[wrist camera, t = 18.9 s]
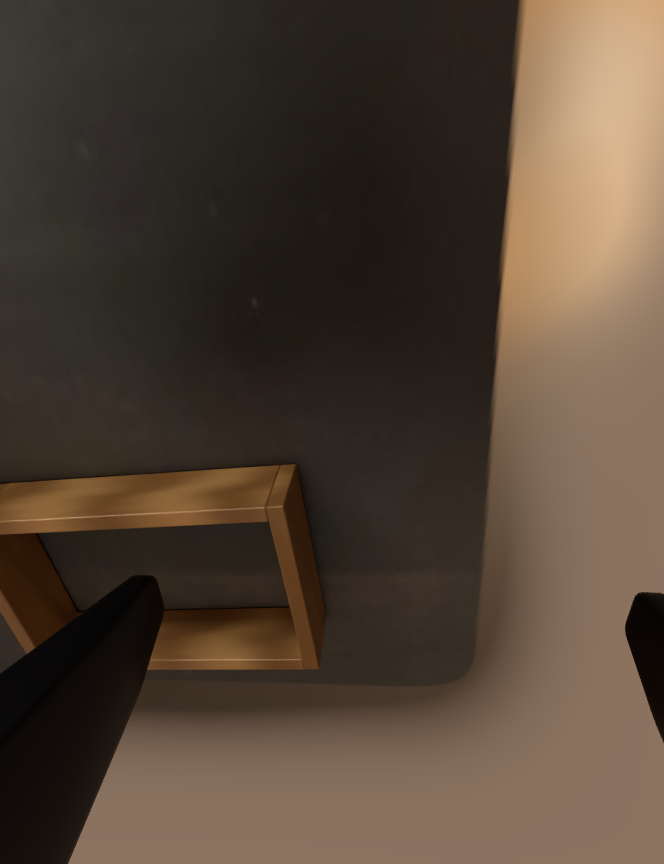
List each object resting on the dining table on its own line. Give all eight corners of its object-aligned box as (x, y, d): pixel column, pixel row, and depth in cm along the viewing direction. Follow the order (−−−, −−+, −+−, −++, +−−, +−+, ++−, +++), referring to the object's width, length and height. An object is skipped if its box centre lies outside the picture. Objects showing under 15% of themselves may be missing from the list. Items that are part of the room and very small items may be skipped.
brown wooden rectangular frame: (296, 463, 23) (283, 506, 20) (326, 616, 28) (319, 669, 25) (-4, 483, 26) (-57, 524, 23) (71, 620, 30) (36, 670, 27)
